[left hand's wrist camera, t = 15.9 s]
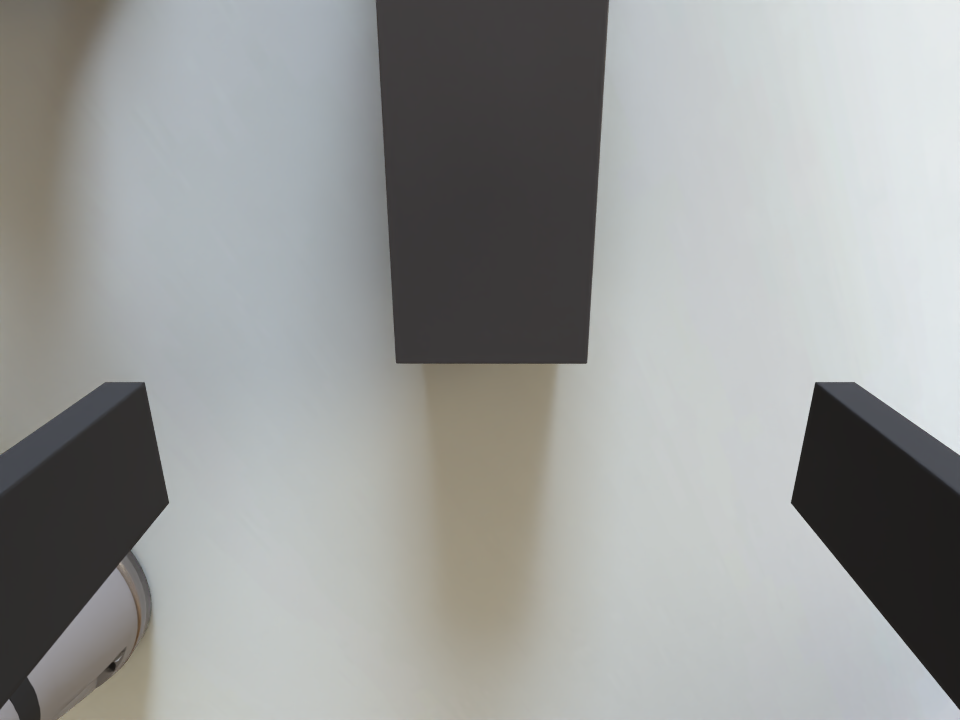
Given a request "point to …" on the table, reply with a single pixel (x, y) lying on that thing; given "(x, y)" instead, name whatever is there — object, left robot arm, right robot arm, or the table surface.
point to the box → (492, 175)
